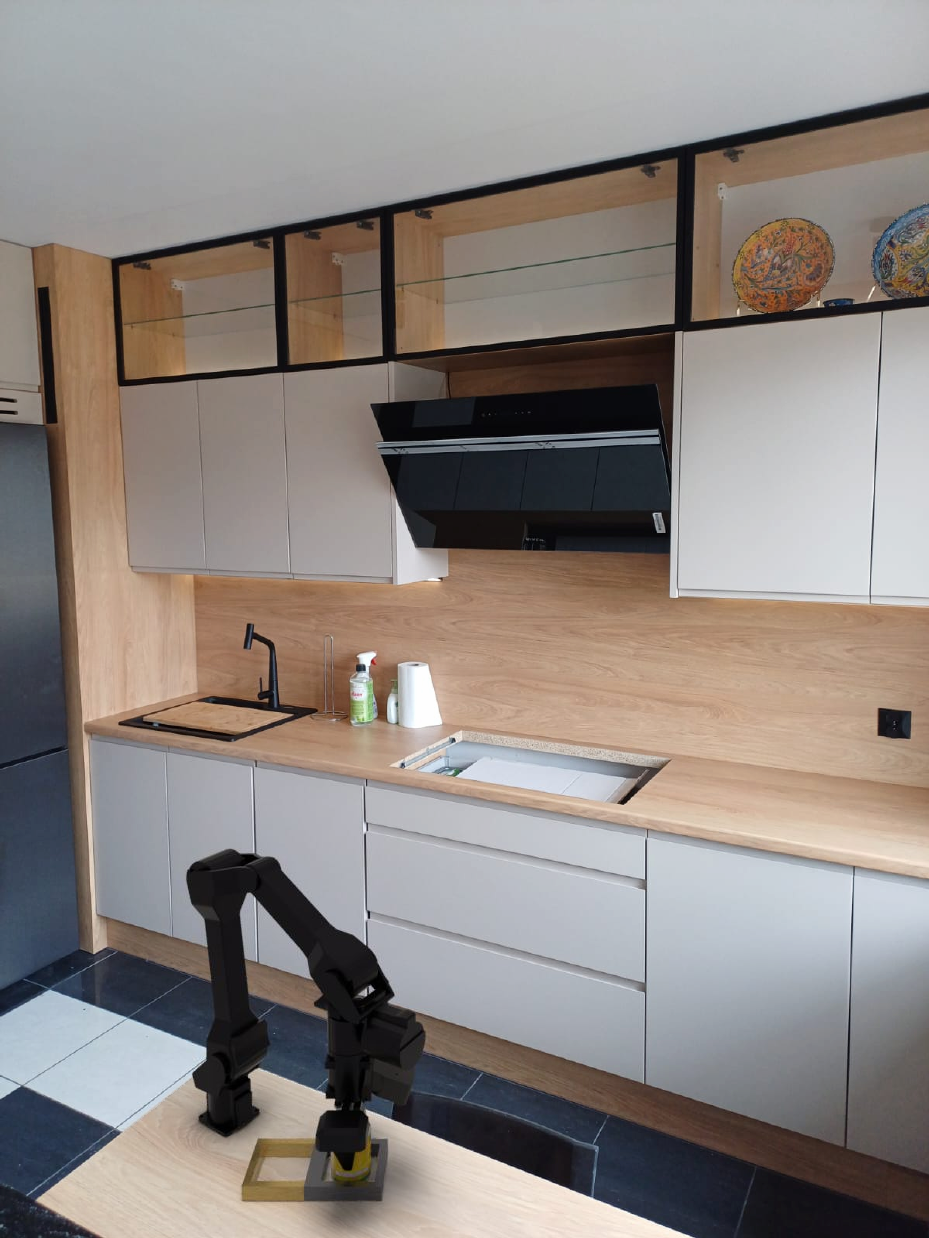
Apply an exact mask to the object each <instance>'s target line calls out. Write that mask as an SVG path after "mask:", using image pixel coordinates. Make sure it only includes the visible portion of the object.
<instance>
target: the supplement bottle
mask: <svg viewBox="0 0 929 1238" xmlns="http://www.w3.org/2000/svg"><path fill="white" fill-rule="evenodd" d="M353 1104H354V1103H353ZM342 1105H343V1104H342ZM341 1109H342V1108H335V1110H341ZM352 1110H353V1105H352ZM361 1110H362V1111H363V1112H364V1113H365V1114H366V1115H367V1108H366V1105H365V1103H363V1102H362V1105H361ZM369 1123H370V1126H369V1132H368V1139H367V1145H366V1149H365V1150H363V1151H362V1152H355V1157H354V1162H353V1168H352V1170H351V1171H344V1170H343V1168H342V1167H341V1165H340V1163H339V1161H338V1160H337V1158H336V1156H335V1154H334V1153H333V1152H331V1157H330V1177H331V1181H369V1179H370V1177H371V1173H372V1157H371V1139H372V1127H371V1122H370V1121H369Z"/></svg>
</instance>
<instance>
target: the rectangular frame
mask: <svg viewBox="0 0 929 1238" xmlns="http://www.w3.org/2000/svg"><path fill="white" fill-rule="evenodd" d="M388 1140H389V1139H388V1138H371V1158H377V1161H376V1168H375V1175H374V1180H367V1181H333V1180H325V1178H326V1174H327V1173H326V1172H327V1169H328V1163H329V1159H330V1158H331V1152H319V1151H318V1150H316V1141H315V1138H295V1137H294V1138H292V1137H291V1138H289V1137H287V1138H284V1137H283V1138H281V1137H280V1138H279V1137H278V1138H274V1137H273V1138H270V1137H269V1138H268V1137H267V1138H265V1137H263V1138H262V1137H261V1138H257V1140H256V1144H255V1146H254V1149H253V1152H252V1155H251V1158H250V1160H249V1163H248V1167H247V1168H246V1172H245V1175H244V1178H243V1181H242V1184H241V1186H240V1187H241V1201H242V1202H382V1201H383V1194H384V1193H383V1192H384V1184H385V1176H386V1171H387V1162H388V1161H387V1160H388V1155H389V1154H388V1153H389V1149H388V1148H389V1143H388V1142H389V1141H388ZM265 1158H310V1159H309V1164H308V1168H307V1172H306V1175H305V1179H304V1180H257V1179H258V1176H259V1173H260V1170H261V1167H262V1164H263V1160H264V1159H265Z"/></svg>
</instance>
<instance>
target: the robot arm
mask: <svg viewBox="0 0 929 1238" xmlns="http://www.w3.org/2000/svg"><path fill="white" fill-rule="evenodd" d="M185 882H186V886H187V890H188V894H189V900H190V904H191V905H192V907H194V909H195V910H196V911H197V913H198V914H199V915H200V916H201V917H202V919H203V921H204V929H205V937H206V938H205V940H206V945H207V947H206V948H207V955H208V964H209V965H208V966H209V974H210V982H211V989H212V990H211V991H212V1001H213V1010H214V1018H213V1021H212V1023H211V1027H210V1029H209V1033H208V1034H207V1037H206V1044H205V1046H206V1050H205V1054H206V1055H205V1059H206V1060H205V1061H204V1062H202V1063H201V1064H200V1065H199V1066H198V1067H197V1068H196V1069H195V1070H193V1072H192V1073H191V1076H192V1080H193V1084H194V1087H195V1089H198V1090H200V1091H202V1092H204V1093H205V1097H206V1098H205V1099H206V1110H205V1111H204V1112H202V1113H201V1114H199V1115H198V1117H197V1119H198V1122H200V1123H202V1124H203V1125H205V1126H207V1127H209V1128H210V1129H212V1130H214V1131H215V1132H217V1133H219V1134H220V1135H222V1136H224V1137H228V1136H230V1135H231V1134H233V1133H234V1132H236V1131H237V1130H238V1129H240V1128H241V1127H243V1126H244V1125H246V1124H247V1123H248V1122H250V1121H252V1119H255V1117H257V1116H258V1115H260V1113H261V1112H260V1110H261V1109H260V1108H258V1106H257V1107H256V1106H255V1105H253V1091H252V1079H251V1078H250V1077H249V1075H250V1074H252V1073H253V1072H254V1071H255V1070H258V1069H259V1068H261V1065H262V1061H264V1059H265V1058H266V1056H267V1055H268V1048H269V1047H271V1041H270V1039H269V1034H268V1023H267V1021H266V1019H260V1017H258V1016H257V1015H256V1013H255V1012H254V1011H253V1010H252V1008H251V1003H250V995H249V993H250V991H249V985H248V976H247V974H248V973H247V968H246V967H247V965H246V956H245V948H244V940H243V929H242V921H241V911H242V907H243V905H244V903H245V900H246V897H247V896H248V894H251V895H252V896H253V897H254V898H255V899H256V901H257V902H258V903H259V904H260V906H261V907H263V909H264V910H265V911H266V912H267V913H268V915H270V917H271V918H272V919H273V920H274V921H275V922H276V924H277V925H278V926H279V927H280V928H281V929H282V930H283V931H284V932H285V933H286V935H287V936H288V937H289V938H290V940H291V941H292V942H293V943H294V944H295V945H296V946H297V947H298V948H299V950H300V951H301V952H302V954H303V955H304V957H305V958H306V959H307V967H308V973H309V975H310V977H311V979H312V981H313V982H314V984H315V985H316V986H317V988H318V989H319V991H320V992H321V994H322V995H320V997H318V998H317V999H316V1000H315V1001H313V1007H315V1008H318V1009H320V1010H323V1011H326V1013H327V1015H326V1016H327V1018H326V1019H327V1021H326V1023H327V1024H326V1025H327V1027H326V1028H327V1053H326V1057H325V1061H324V1069H325V1070H327V1085H326V1088H325V1100H334V1102H333V1103H334V1104H333V1107H334V1109H327V1110H326V1111H324V1112H323V1114H321V1115H320V1116H319V1119H318V1124H317V1127H316V1132H315V1141H316V1150H318V1151H319V1152H333V1153H334V1154H335V1156H336V1158H337V1160H338V1161H339V1163H340V1165H341V1167H342V1168H343V1170H344V1171H351V1170H352V1168H353V1162H354V1157H355V1152H362V1151H363V1150H365V1149H366V1145H367V1139H368V1132H369V1126H370V1125H371V1122H370V1120H369V1118H370V1117H369V1115H368V1114H367V1113H366V1114H365V1113H364V1112H363V1111H362V1110H361V1105H362V1102H363V1103H364V1104H365V1103H366V1102H372V1100H373V1095H374V1096H375V1097H377V1098H380V1099H383V1100H386V1101H388V1102H392V1103H394V1105H396V1106H399V1107H404V1106H406V1104H407V1101H408V1099H409V1096H410V1094H411V1091H412V1088H413V1085H414V1082H415V1075H416V1074H415V1073H416V1072H415V1071H416V1068H415V1066H416V1065H417V1063H418V1062H419V1060H420V1058H422V1054H423V1053H424V1052H423V1051H424V1048H425V1044H426V1030H425V1029H424V1025H423V1024H422V1023H421V1022H420V1021H418V1020H416V1019H417V1018H416V1016H417V1015H416V1012H415V1011H412V1010H409V1009H401V1008H399V1007H395V1006H393V1005H390V1004H389V1001H390V1000H392V999H393V998H394V997H396V995H395V992H394V990H393V988H392V986H391V984H390V980H389V979H388V978H387V976H385V973H384V972H383V969H382V968H381V966H380V964H379V961H378V958H377V956H376V955H375V953H374V952H373V950H372V949H371V948H370V947H369V946H368V945H367V944H365V943H364V942H363V941H361V940H360V939H359V938H358V937H356V936H355V935H354V934H353V933H349V932H347V931H344V930H341V929H337V928H336V927H335V926H334V925H333V924H331V923H330V922H329V921H328V919H327V918H326V917H325V916H324V915H323V914H322V913H321V912H320V911H319V909H317V907H315V905H314V904H313V903H312V902H311V901H310V900H309V899H308V897H307V896H305V894H304V893H303V892H302V891H301V889H300V888H299V887H298V886H297V885H296V884H295V883H294V882H293V881H292V880H291V879H290V878H289V877H288V875H287V874H286V873H285V872H284V871H283V870H282V867H281V864H280V862H279V860H278V858H275V857H274V856H261V855H259V854H258V853H256V852H253V853H252V852H246V853H245V852H244V853H243V852H238V851H237V850H236V849H233V848H226V849H224V850H221V851H218V852H216V853H213V854H211V855H209V856H207V857H204V858H201V859H199V860H197V861H195V862H193V863H191V865H190V866H189V868H188V869H187V870H186V875H185ZM369 987H372V989H374V990H373V991H371V992H370V993H368V994H367V995H366V996H364V997H360V996H358V995H360V994H361V993H362V992H364V991H365V990H367V989H368V988H369ZM353 1103H354V1104H353ZM342 1104H343V1105H342ZM352 1105H353V1110H352ZM336 1108H342V1109H341V1110H336ZM369 1122H370V1123H369Z"/></svg>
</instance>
